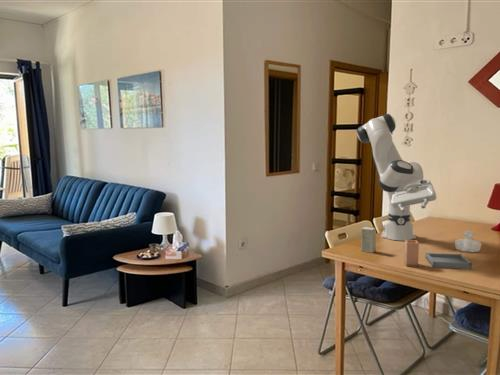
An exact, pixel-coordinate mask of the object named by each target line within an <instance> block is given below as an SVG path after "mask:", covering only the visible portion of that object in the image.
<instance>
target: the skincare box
mask: <svg viewBox="0 0 500 375" xmlns="http://www.w3.org/2000/svg"><path fill="white" fill-rule="evenodd" d="M360 232H361V234H360V239H361V241H360V243H361V244H360V246H361V249H360V251H361V252H365V253H366V252H367V253H371V254H372V253H375V252H376V251H377V250H376V248H377V247H376V244H377V242H376V239H377V236H376V234H377V232H376V227H369V226H363V227H361V228H360Z"/></svg>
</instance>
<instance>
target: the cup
mask: <svg viewBox="0 0 500 375" xmlns="http://www.w3.org/2000/svg"><path fill="white" fill-rule="evenodd" d="M419 247H420V242H418V240H415V239H411V240H405V241H404V256H403V257H404V258H403V263H404V265H405V266H406V267H414V268H419V249H420V248H419Z"/></svg>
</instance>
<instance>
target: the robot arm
mask: <svg viewBox="0 0 500 375" xmlns="http://www.w3.org/2000/svg"><path fill="white" fill-rule="evenodd" d="M396 127H397V125H396V120H395V118H394V117H393V116H392V115H391V114H389V113H386V114H382V115H381V116H378V117H375V118H371V119H369V120H368V121H367V122H366V123H365V124H363V125H360V126H359V127H358V128H357V129H356V136H357V138H358V140H359V141H360V142H361V143H363V144H368V143H370V144H371V149H372V150H371V151H372V159H373V163H374V166H375V169H376V172H377V173H376V174H377V176H378V180H377V181H378V186H379V188H380V189H381V190H382V191H384V192H386V193H387V195H388V202H389V203H388V204H389V205H388V207H389V210H388V211H389V212H388V215H387V219H388V220H387V222H386V223H385V224H383V231H382V233H381V238H382V239H388V240H391V241H392V240H393V241H400V242H401V241H403V242H405V240H415V239H417V237H416V236H415V235H414V224H413V223H412V222H411V206H413V205H418V204H420V207H421V209H423V210H424V209H426V207H427V205H428V203H429V202H433V201H436V200H437V193H436V191H435V188H434V185H433V183H432V182H431V180H429V179H424V169H423V167H422V166H421V164H419V163H418V162H416V161H410V162H408V161H405V160H403V159H402V157H401V155H400V153H399V151H398V149H397V147H396V145H395V143H394V142H393V134H394V133H393V132H395V130H396Z"/></svg>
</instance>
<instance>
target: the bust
mask: <svg viewBox="0 0 500 375" xmlns="http://www.w3.org/2000/svg"><path fill="white" fill-rule="evenodd" d="M461 234H462V235H463V236H464V238H459V239H456V240H455V241H454V246H455V249H456V250H457V251H461V252H468V253H479V252H480V250H481V248H482V243H481V242H480V241H478V240H476V239H472V238H474V235H475V234H476V233H475V232H473V231H472V230H465V231H462V232H461Z"/></svg>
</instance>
